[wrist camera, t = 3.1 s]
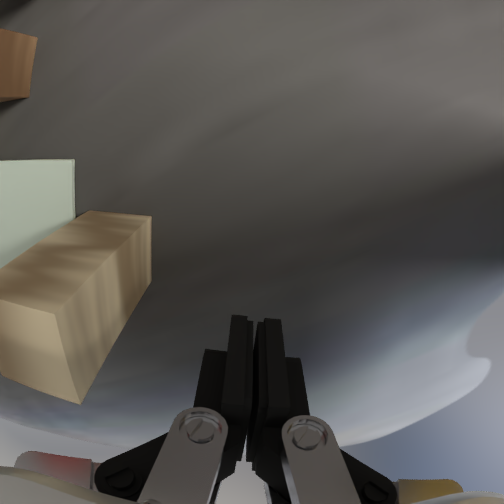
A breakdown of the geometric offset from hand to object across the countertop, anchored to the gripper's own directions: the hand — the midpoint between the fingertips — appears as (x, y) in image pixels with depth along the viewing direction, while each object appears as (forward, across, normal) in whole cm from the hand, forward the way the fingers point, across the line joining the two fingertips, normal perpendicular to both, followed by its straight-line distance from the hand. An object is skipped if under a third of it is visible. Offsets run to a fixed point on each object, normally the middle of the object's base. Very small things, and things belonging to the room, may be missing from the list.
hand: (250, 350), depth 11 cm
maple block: (+8, +8, 0) cm, 11 cm away
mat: (+8, +16, 0) cm, 18 cm away
